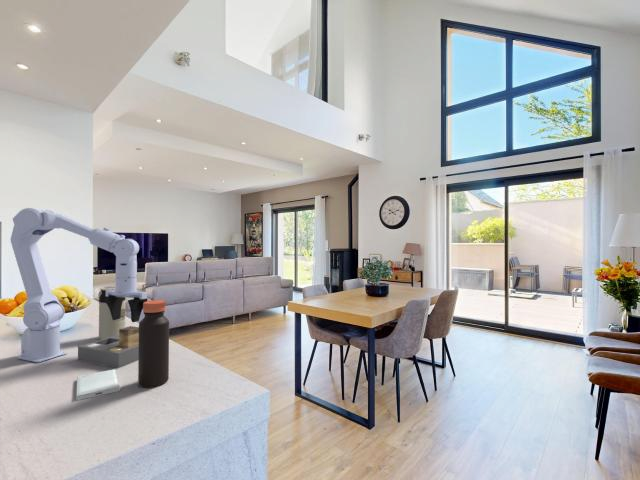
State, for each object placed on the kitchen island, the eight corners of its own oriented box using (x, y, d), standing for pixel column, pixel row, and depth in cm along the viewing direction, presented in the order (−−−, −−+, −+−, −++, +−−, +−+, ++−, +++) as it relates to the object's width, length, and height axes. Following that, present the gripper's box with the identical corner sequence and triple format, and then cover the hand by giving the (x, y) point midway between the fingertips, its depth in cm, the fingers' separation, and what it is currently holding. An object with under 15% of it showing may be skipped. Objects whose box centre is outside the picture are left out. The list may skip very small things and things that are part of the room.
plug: (119, 356, 95) (119, 329, 95) (129, 352, 99) (130, 326, 99) (128, 358, 94) (128, 330, 94) (138, 353, 98) (139, 327, 98)
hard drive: (77, 376, 82) (76, 395, 72) (115, 368, 86) (119, 385, 76) (77, 382, 82) (76, 402, 72) (115, 375, 86) (119, 392, 76)
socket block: (77, 360, 95) (78, 345, 95) (118, 346, 107) (118, 333, 107) (118, 367, 90) (118, 352, 90) (156, 352, 102) (156, 339, 102)
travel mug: (93, 339, 114) (93, 288, 114) (113, 333, 122) (114, 285, 122) (110, 341, 112) (111, 289, 112) (130, 335, 119) (130, 286, 119)
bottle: (169, 374, 85) (170, 298, 85) (167, 385, 79) (168, 303, 79) (140, 378, 83) (141, 300, 83) (135, 390, 77) (136, 305, 77)
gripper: (96, 277, 100) (96, 321, 101) (133, 279, 96) (133, 325, 96) (116, 275, 107) (116, 316, 107) (152, 277, 103) (152, 320, 103)
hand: (125, 320), depth 102 cm, fingers open, 7 cm apart
